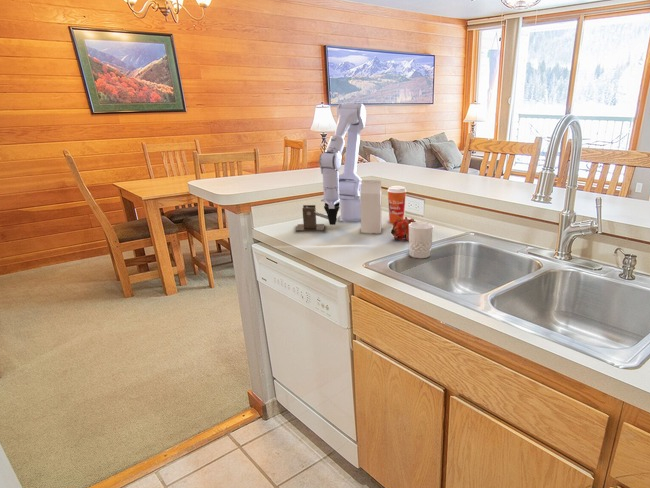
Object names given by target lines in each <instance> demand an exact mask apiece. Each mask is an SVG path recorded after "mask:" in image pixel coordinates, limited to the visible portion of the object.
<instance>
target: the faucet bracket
mask: <svg viewBox="0 0 650 488" xmlns="http://www.w3.org/2000/svg"><path fill="white" fill-rule="evenodd" d="M302 206H303V207H302V208H301V209H302V221H303V222H302V223H300V224H297V225H296V229H295V232H296V233H302V232H303V233H305V232H306V233H307V232H308V233H309V232H312V233H315V232H317V233H318V232H324V229H325V224H324V223H317V215H315V212H317V211H316V210H317V209H316V204H303V205H302ZM306 207H310V208H306Z"/></svg>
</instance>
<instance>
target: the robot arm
mask: <svg viewBox="0 0 650 488" xmlns="http://www.w3.org/2000/svg"><path fill="white" fill-rule="evenodd" d="M336 117H337V123H336V127H335V131H334V134H333V135H331V136H330V137H329V139H328V142H327V145H326V147H325V150H324V152H322V153H321V154H320V155H319V157H318V166H319V168H320V174H321V175H322V186H323V187H322V188H323V198H322V197H321V198H320V202H324V205H323V209H324V210H325V212H326V213H325V214H326V215H327V216H328V219H327V220H328V223H329V225H330V226H335V225H336V224H337V221H336V218H337V217H338V212H339V211H340V212H339V213H340V215H339V222H361V180H363V179H362V178H361V177H360V176H359V175H358V173H357V169H358V159H359V151H360V143H361V132H362V130H364V129H365V126H366V120H367V119H366V118H367V111H366V107H365V105H364V104H363V103H343V102H339V103H338V105H337V107H336ZM346 135H347V137H346ZM345 137H346V141H345V140H344V139H345ZM345 145H346V146H345ZM344 148H345V156H344V163H343V172H341V173H340V174H339V170H340V169H341V167H342V158H343V157H342V153H343V150H344ZM337 219H338V218H337Z"/></svg>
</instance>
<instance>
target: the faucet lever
mask: <svg viewBox="0 0 650 488" xmlns="http://www.w3.org/2000/svg"><path fill="white" fill-rule="evenodd" d="M306 208H310V207H306ZM315 215H316V217H320V218H322V219H326V220H328V215H327V214H323V213H321V212H318V211H316V212H315ZM337 221H338V218H336V222H337Z"/></svg>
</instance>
